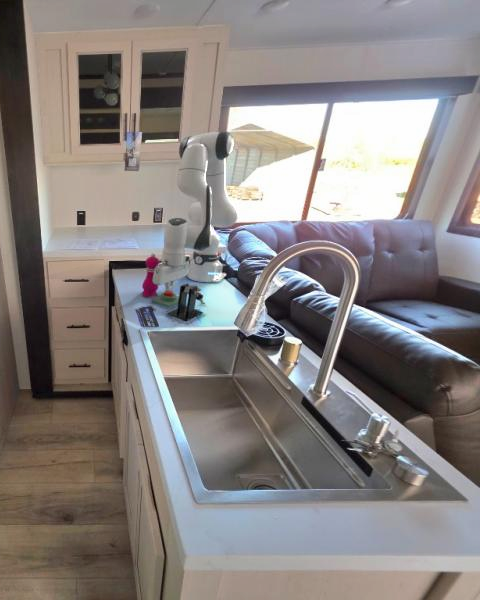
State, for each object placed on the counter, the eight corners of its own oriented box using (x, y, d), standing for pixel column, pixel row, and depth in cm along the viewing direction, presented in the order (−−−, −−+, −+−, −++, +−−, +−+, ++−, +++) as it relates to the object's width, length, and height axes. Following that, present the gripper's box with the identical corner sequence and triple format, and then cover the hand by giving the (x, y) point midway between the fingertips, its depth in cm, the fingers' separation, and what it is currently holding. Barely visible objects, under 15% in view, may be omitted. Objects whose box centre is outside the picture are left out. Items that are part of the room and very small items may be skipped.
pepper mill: (157, 298, 143) (161, 256, 135) (141, 297, 145) (144, 255, 136) (157, 292, 150) (161, 251, 142) (141, 291, 151) (145, 251, 143)
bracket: (183, 307, 134) (187, 279, 129) (203, 315, 128) (208, 285, 123) (166, 316, 127) (170, 286, 122) (186, 324, 121) (190, 293, 116)
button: (167, 293, 140) (168, 289, 139) (174, 295, 137) (175, 292, 136) (162, 295, 138) (163, 291, 137) (169, 297, 135) (170, 294, 134)
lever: (195, 299, 132) (198, 292, 132) (202, 301, 130) (205, 294, 130) (181, 292, 123) (185, 284, 123) (189, 294, 121) (192, 287, 121)
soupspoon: (199, 288, 156) (185, 289, 157) (199, 282, 154) (185, 282, 155) (210, 305, 135) (194, 305, 136) (211, 298, 134) (195, 298, 135)
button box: (166, 296, 145) (167, 288, 144) (183, 302, 139) (184, 294, 137) (151, 303, 139) (152, 294, 137) (168, 309, 132) (169, 301, 131)
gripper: (163, 265, 122) (159, 297, 128) (192, 256, 134) (188, 286, 140) (150, 261, 127) (147, 293, 132) (180, 253, 139) (176, 282, 144)
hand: (168, 289), depth 136 cm, fingers closed
